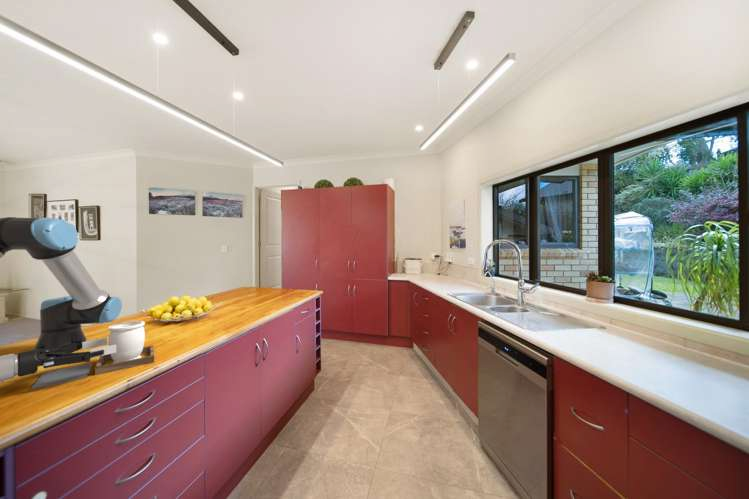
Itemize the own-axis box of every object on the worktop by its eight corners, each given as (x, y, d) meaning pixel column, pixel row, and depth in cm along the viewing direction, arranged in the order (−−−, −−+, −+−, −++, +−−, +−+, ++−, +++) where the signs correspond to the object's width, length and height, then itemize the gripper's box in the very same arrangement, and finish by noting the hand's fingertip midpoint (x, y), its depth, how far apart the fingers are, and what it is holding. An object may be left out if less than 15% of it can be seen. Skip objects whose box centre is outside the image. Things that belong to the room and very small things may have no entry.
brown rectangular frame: (100, 361, 103) (100, 355, 103) (153, 351, 114) (153, 345, 114) (95, 375, 92) (95, 368, 92) (154, 362, 103) (154, 355, 103)
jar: (122, 369, 97) (122, 329, 97) (100, 366, 99) (100, 327, 99) (151, 357, 107) (151, 321, 107) (131, 355, 109) (132, 319, 109)
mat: (43, 373, 93) (43, 372, 93) (92, 364, 101) (92, 362, 101) (30, 389, 82) (30, 388, 82) (86, 377, 90) (86, 376, 90)
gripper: (14, 366, 88) (103, 347, 106) (18, 389, 74) (120, 362, 92) (14, 344, 88) (103, 329, 106) (19, 363, 74) (120, 341, 92)
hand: (111, 344), depth 99 cm, fingers open, 13 cm apart
